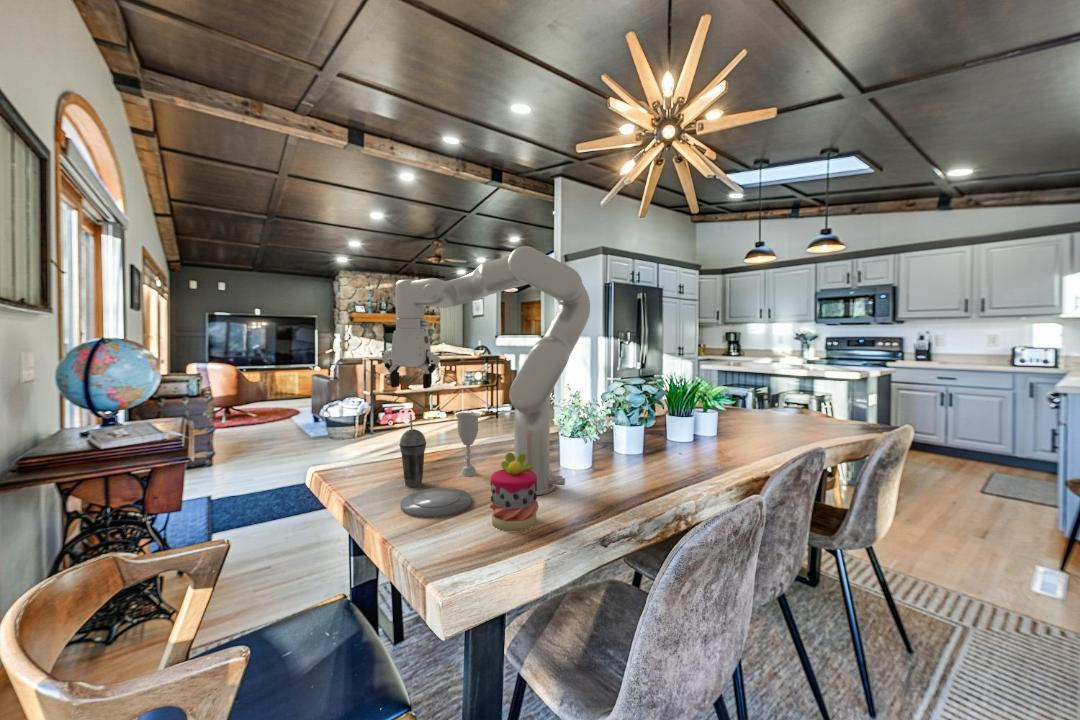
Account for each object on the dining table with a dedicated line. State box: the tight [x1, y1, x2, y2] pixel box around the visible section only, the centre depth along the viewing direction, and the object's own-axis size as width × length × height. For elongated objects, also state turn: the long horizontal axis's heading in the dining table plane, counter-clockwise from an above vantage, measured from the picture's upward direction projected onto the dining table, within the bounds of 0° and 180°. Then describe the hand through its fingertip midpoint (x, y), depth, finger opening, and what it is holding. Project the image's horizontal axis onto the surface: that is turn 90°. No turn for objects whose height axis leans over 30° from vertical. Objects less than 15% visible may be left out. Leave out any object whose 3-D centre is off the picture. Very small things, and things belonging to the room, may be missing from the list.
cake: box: [489, 452, 540, 532], centre depth 103 cm, size 10×11×15 cm
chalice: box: [455, 412, 481, 477], centre depth 139 cm, size 7×7×18 cm
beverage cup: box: [398, 414, 427, 488], centre depth 129 cm, size 7×7×20 cm
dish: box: [400, 487, 472, 519], centre depth 115 cm, size 17×17×2 cm
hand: (411, 387), depth 128 cm, fingers open, 9 cm apart
